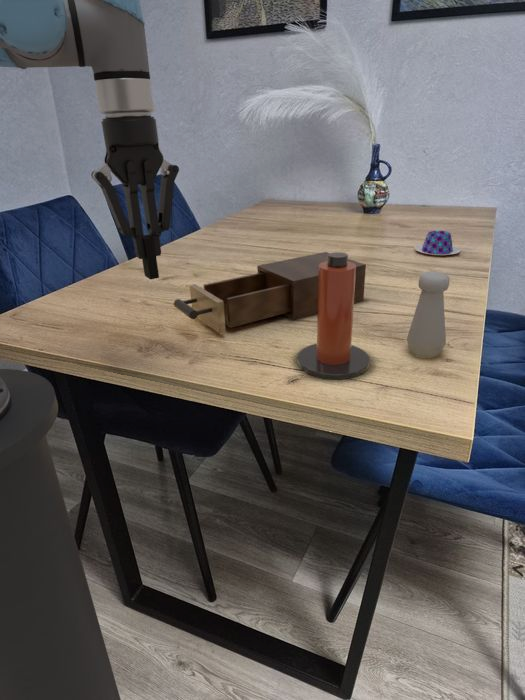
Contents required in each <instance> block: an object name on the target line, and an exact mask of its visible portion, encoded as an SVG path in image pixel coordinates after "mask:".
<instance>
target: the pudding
mask: <svg viewBox="0 0 525 700" xmlns="http://www.w3.org/2000/svg"><path fill="white" fill-rule="evenodd" d="M413 249H414V250H415V251H417V252H419V253H422V254H426V255H428V256H429V255H430V256H441V257H442V256H450V255H455V254H459V253H460V252H461V248H460V247H457V246H455V245H453V240H452V234H451V232H449V231H446V230H430V231H428V233H427V234H426V237H425V240H424V242H423V244H417V245H415V246H414V248H413Z"/></svg>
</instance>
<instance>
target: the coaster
mask: <svg viewBox="0 0 525 700" xmlns="http://www.w3.org/2000/svg"><path fill="white" fill-rule="evenodd" d="M316 352H317V343H314V344H310V345H307V346H305V347H304V348H302V349H301V350H300V351H299V352H298V354H297V358H296V359H297V365H298V367H299V368H300V369H301V370H302V371H303V372H304V373H306V374H308V375H310V376H313V377H316V378H320V379H326V380H346V379H352V378H355V377H358V376H361V375H363V374H364V373H365V372H367V370H368V369H369V367H370V365H371V364H370V362H371V361H370V360H371V359H370V356H369V355H368V353H367V352H366V351H365V350H363V349H362V348H360V347H358V346H355V345H352V344H351V358H350V360H349V361H348V362H347V363H345V364H341V365H329V364H325V363H322V362H320V361H319V360H318V359H317V357H316Z"/></svg>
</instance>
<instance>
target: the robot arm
mask: <svg viewBox="0 0 525 700" xmlns="http://www.w3.org/2000/svg"><path fill="white" fill-rule="evenodd" d="M141 5H142V4H141V0H0V67H2V68H16V69H21V70H27V69H28V68H29V69H30V68H67V67H68V68H69V67H71V68H72V67H79V68H86V67H91V69H92V72H93V80H94V85H95V90H96V97H97V103H98V110H99V112H100V113H101V114H102V115H103V114H104V118H102V121H100V122H101V128H102V134H103V140H104V145H105V156H104V164H103V165H101V166H100V167H99V168H98V169H97V170H93V171H92V172H91V174H90V175H91V178H92V179H93V181H94V182H96V184H97V185H98V186H99V187H100V189H101V192H102V194H103V196H104V198H105V201H106V203H107V206H108V208H109V210H110V212H111V215H112V218H113V220H114V222H115V224H116V227H117V229H118V231H119V233H120V234H122V235H123V236H125V237H127V238H128V237H130V238H132V241H133V247H134V253H135V256H136V258H138V259H139V260H142V266H143V267H142V268H143V273H144V277H146V278H147V279H149V280H150V281H151V280H155V279H159V278H160V273H159V267H158V261H157V260H158V259H157V257H160V256H162V249H161V247H162V246H161V241H160V237H161V236H162V233H164V232H165V231H169V230H170V227H171V218H172V210H173V209H172V208H173V197H174V189H175V188H174V187H175V181H176V178H177V176H178V174H179V172H180V167H179V166H178V165H177V164H171V163H170V162H169V161H167V160H166V159H164V155H163V153H162V151H161V149H160V144H159V143H160V142H159V135H158V127H157V119H156V118H155V116H152V113H153V112H154V111H155V110H156V109H155V102H154V94H153V87H152V80H151V74H150V73H151V72H150V65H149V55H148V54H149V53H148V47H147V37H146V29H145V26H146V25H145V20H144V17H143V10H142V6H141ZM159 172H160V175H161V179H160V184H159V185H160V186H159V196H158V197H159V198H158V200H159V201H158V209H157V204H156V203H157V201H156V194H155V189H156V186H155V179H156V177H157V175H158V173H159ZM111 173H112V174H113V175H114V176H115V178H116V179H117V180H118V181H119V182H120V183H121V184H122V191H123V192H124V197H125V202H126V210H127V216H128V219H127V217H126V214H125V212H124V209H123V207H122V205H121V202H120V200H119V197H118V195H117V193H116V190H115V188H114V186H113V184H112V180H113V177H112V175H111ZM139 189H140V192H141V200H142V206H143V213H144V220H145V227H146V232H147V233H148V234H145V233H144V227H143V220H142V213H141V208H140V199H139ZM11 403H12V400H11V396H10V393H9V390H8V388H7V386H6V384H5V383H4V381H3V380H2V379H1V378H0V420H1V419H2V418H3V417H4V416H5V415H6V413H7V412H8V411H9V409H10V407H11Z"/></svg>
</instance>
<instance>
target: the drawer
mask: <svg viewBox="0 0 525 700" xmlns="http://www.w3.org/2000/svg"><path fill="white" fill-rule="evenodd" d="M189 294H190V299H186V300H181V299H179V298H176V299H175V300H174V301H173V306H174V308H175V309H177V310H179V311H180V312H181V313H183V314H184V316H187V317H188V318H189V319H190V320H196V319H199V320H200V321H201V322H203V323H204V324H206V326H208V327H210V328H211V329H212V330H214V331H215V332H216V333H218V334H219V335H220V334H225V333H226V331H227V330H226V326H227V327H229V328H235V327H238V326H243V325H247V324H251V323H253V322H258V321H261V320H264V319H268V318H272V317H276V316H279V315H280V316H281V315H284V313H288V312H291V284H289V283H287V282H285V281H283V280H280V279H278V278H276V277H274V276H271V275H269V274H267V273H264V272H261V273H258V272H257V273H253V274H248V275H242V276H238V277H233V278H228V279H224V280H223V279H222V280H219V281H215V282H210V283H205V284H203V288H202V287H201V286H199V285H198V284H196V283H194V284H189Z"/></svg>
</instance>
